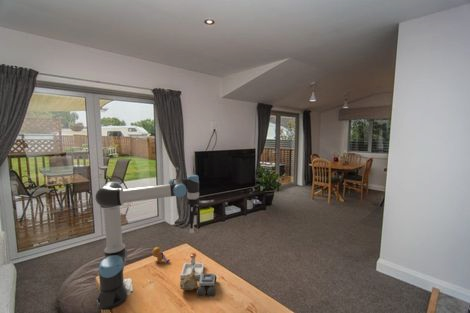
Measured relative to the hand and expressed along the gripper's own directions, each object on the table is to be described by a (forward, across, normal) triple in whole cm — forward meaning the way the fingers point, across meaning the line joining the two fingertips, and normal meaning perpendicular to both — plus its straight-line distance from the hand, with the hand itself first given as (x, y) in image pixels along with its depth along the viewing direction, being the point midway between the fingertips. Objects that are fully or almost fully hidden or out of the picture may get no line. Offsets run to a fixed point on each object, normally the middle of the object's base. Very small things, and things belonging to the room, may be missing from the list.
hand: (193, 228), depth 151 cm
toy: (+31, +12, +26) cm, 42 cm away
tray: (+31, -2, 0) cm, 31 cm away
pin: (+30, -2, 0) cm, 30 cm away
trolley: (+31, -18, -11) cm, 37 cm away
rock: (+30, -17, +1) cm, 35 cm away
